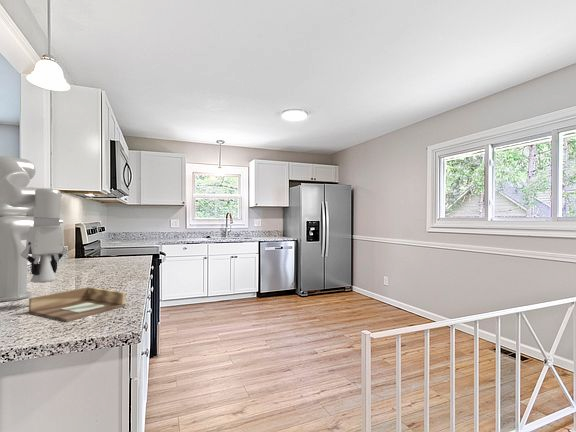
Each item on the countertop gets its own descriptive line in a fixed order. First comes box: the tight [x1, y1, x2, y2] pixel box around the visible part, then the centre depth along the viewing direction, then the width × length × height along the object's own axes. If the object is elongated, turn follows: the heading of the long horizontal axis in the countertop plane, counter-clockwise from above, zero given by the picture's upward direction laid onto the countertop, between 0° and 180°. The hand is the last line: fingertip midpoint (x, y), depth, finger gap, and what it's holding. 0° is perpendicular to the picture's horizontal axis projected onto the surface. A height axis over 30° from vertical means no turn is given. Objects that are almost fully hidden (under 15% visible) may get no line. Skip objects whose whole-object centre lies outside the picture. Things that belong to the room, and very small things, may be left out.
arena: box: [28, 286, 127, 323], centre depth 108 cm, size 20×20×5 cm
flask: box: [30, 254, 58, 284], centre depth 113 cm, size 7×7×10 cm
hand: (44, 273), depth 113 cm, fingers closed on flask, 4 cm apart
